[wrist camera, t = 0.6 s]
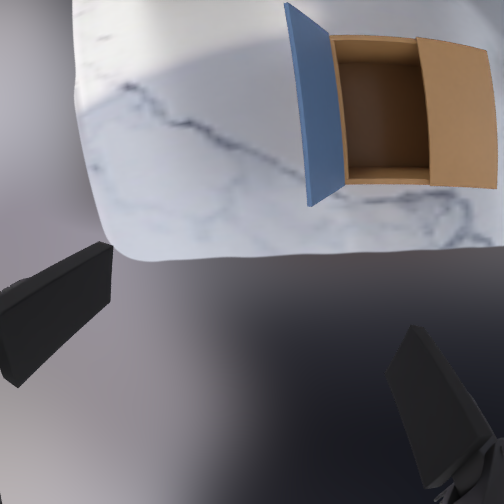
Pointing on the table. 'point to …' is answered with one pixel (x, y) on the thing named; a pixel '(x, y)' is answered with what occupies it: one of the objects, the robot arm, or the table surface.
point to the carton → (415, 112)
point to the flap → (316, 105)
